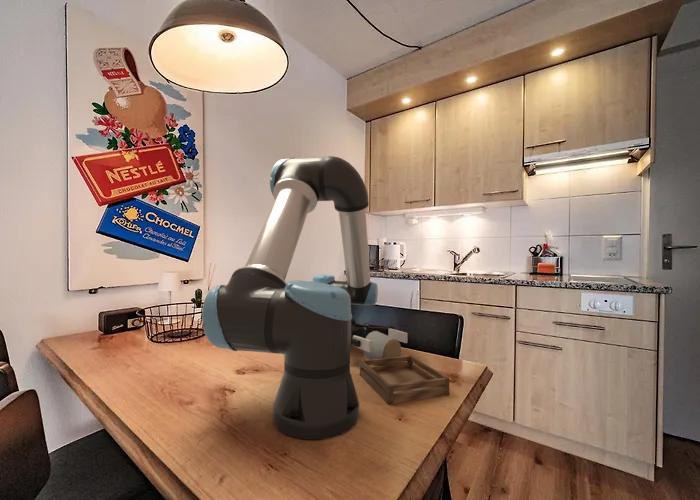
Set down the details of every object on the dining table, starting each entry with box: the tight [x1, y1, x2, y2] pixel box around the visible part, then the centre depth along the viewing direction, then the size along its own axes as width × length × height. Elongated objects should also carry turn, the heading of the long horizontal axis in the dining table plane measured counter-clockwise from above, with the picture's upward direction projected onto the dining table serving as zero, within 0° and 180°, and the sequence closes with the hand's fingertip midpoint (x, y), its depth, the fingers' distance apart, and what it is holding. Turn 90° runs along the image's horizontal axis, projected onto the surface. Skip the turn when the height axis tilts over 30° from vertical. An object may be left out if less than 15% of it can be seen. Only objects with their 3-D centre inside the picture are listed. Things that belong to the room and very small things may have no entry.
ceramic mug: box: [362, 331, 405, 366], centre depth 84 cm, size 11×8×8 cm
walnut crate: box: [359, 355, 450, 405], centre depth 69 cm, size 14×15×3 cm
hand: (389, 342), depth 82 cm, fingers open, 13 cm apart
